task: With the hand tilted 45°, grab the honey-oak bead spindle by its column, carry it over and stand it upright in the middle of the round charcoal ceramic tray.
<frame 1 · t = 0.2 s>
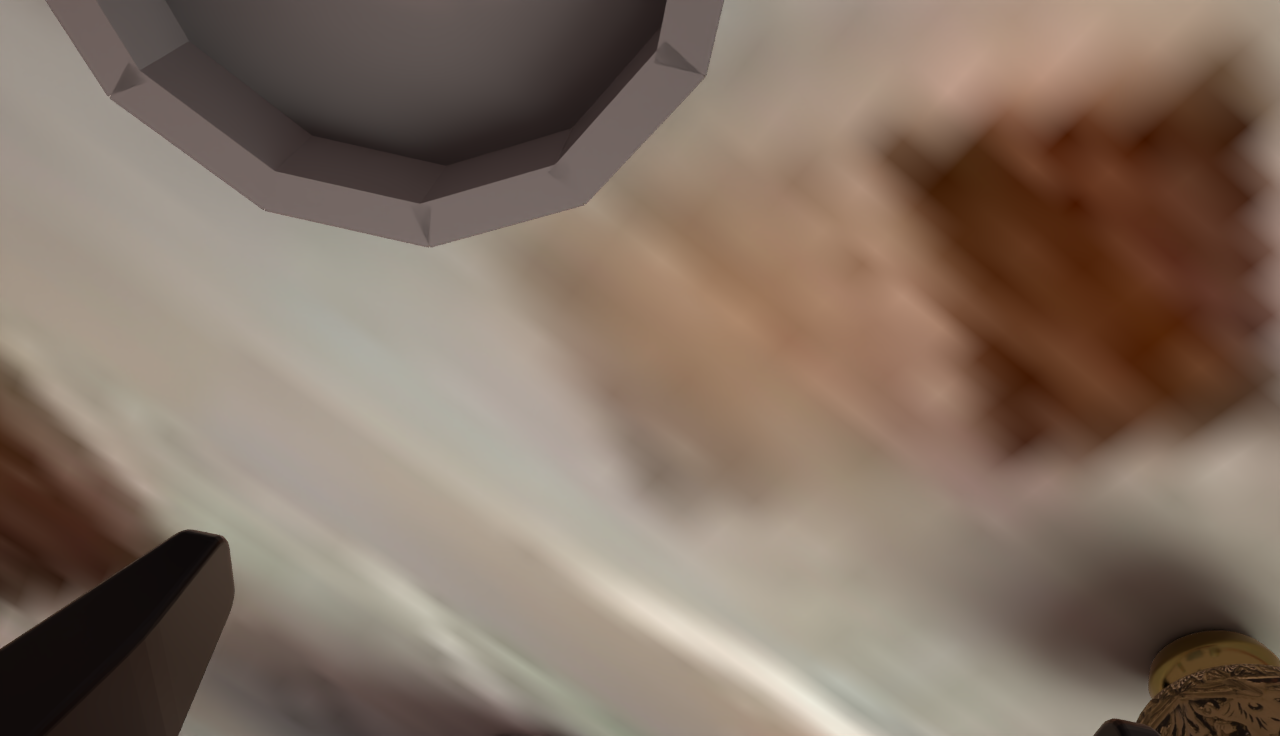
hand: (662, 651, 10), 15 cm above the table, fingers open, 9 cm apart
cup: (1202, 653, 30), on the table
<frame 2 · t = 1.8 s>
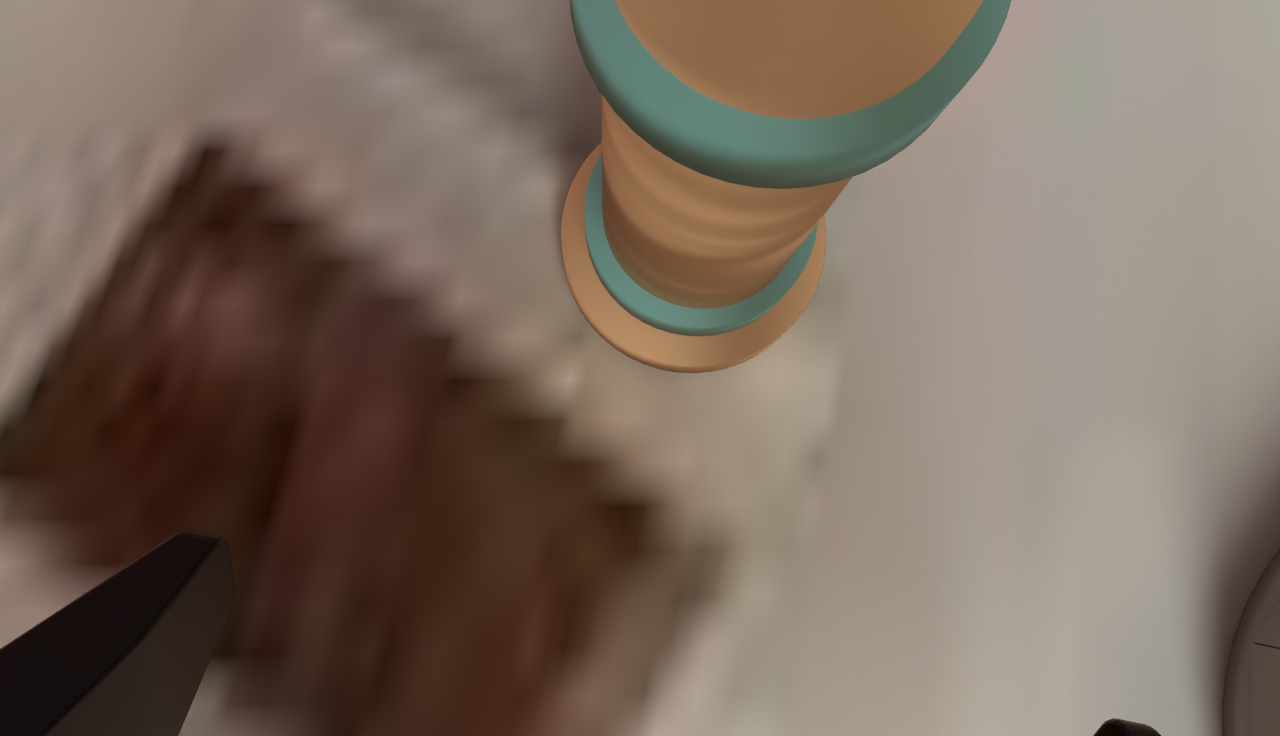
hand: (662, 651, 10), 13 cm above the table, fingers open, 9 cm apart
bead spindle: (689, 247, 24), on the table
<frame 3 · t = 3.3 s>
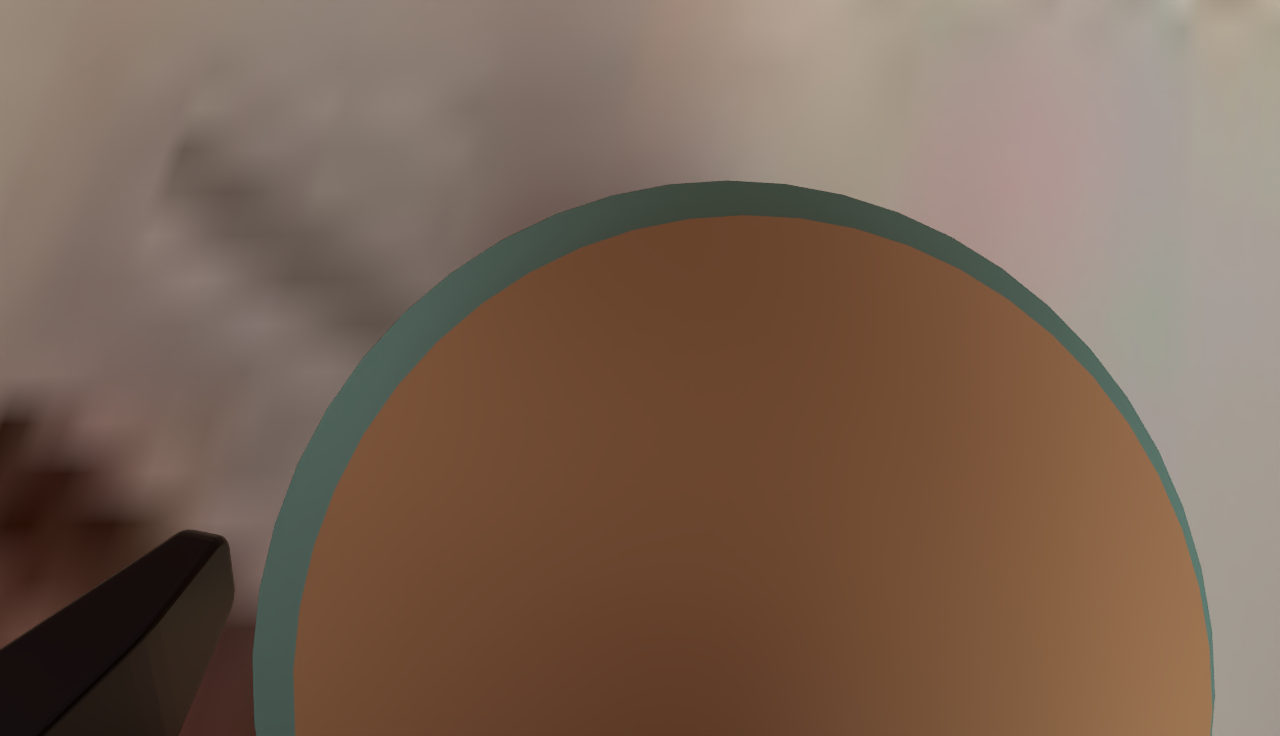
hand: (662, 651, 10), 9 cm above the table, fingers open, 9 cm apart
bead spindle: (641, 551, 18), on the table
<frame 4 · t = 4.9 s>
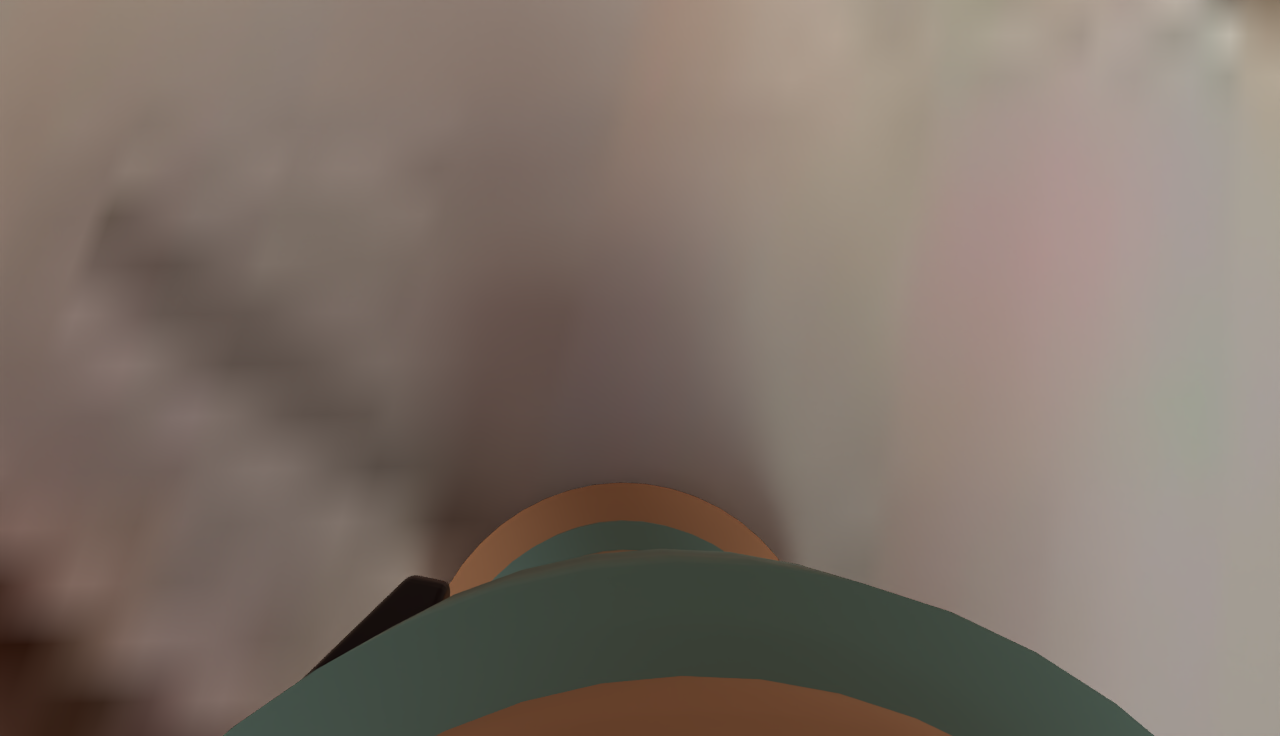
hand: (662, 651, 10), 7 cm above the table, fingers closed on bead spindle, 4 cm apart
bead spindle: (621, 672, 16), on the table, touching gripper
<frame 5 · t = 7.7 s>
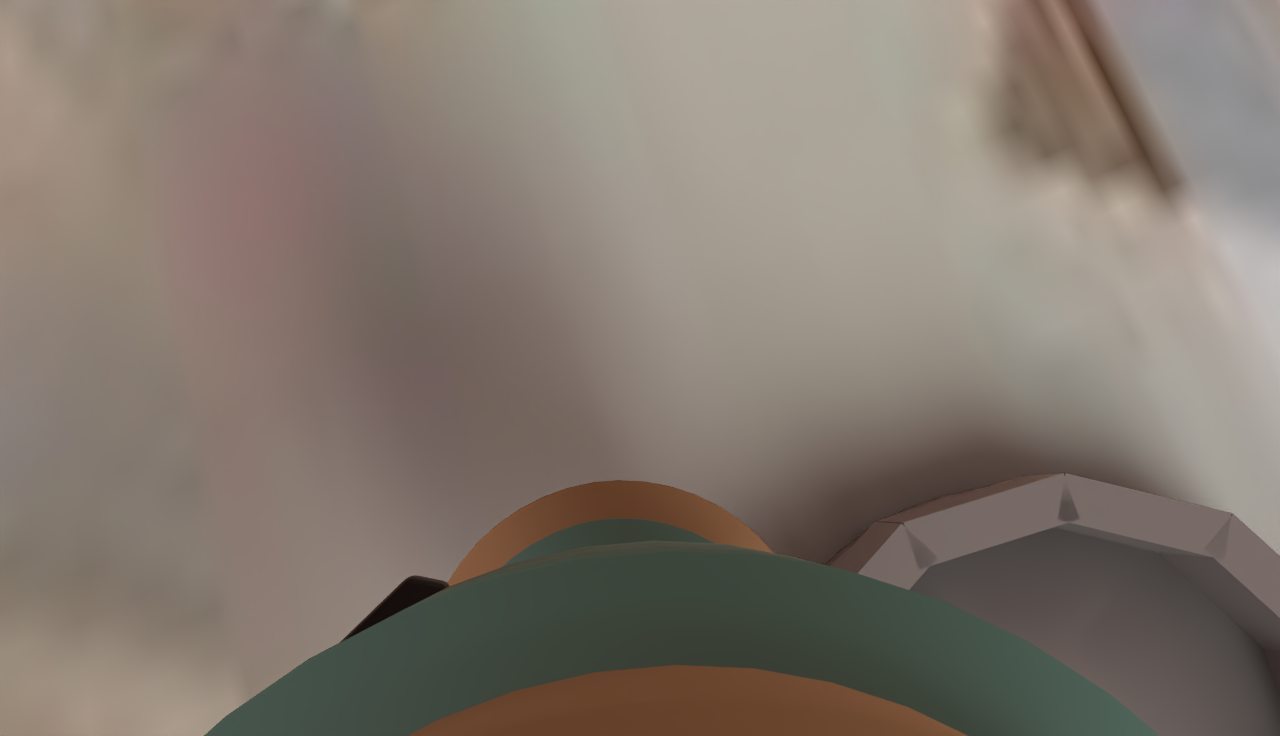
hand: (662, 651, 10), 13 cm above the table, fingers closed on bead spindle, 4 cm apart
bead spindle: (620, 670, 16), point 6 cm above the table, touching gripper
when the fingers open (9 cm above the table, at t = 10.3 s): bead spindle drops 1 cm, resting on round tray.
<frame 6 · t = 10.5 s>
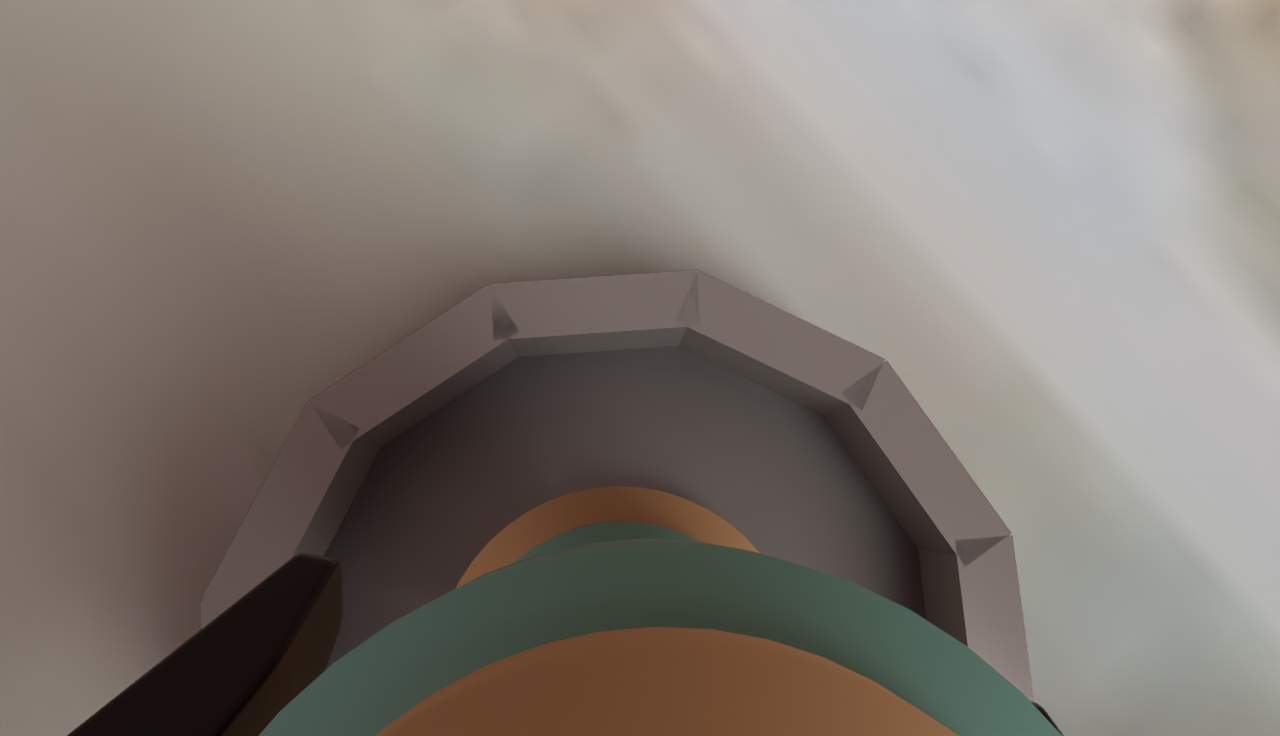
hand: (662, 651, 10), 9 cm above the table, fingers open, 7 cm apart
round tray: (619, 651, 19), on the table
bead spindle: (618, 662, 18), point 1 cm above the table, touching round tray
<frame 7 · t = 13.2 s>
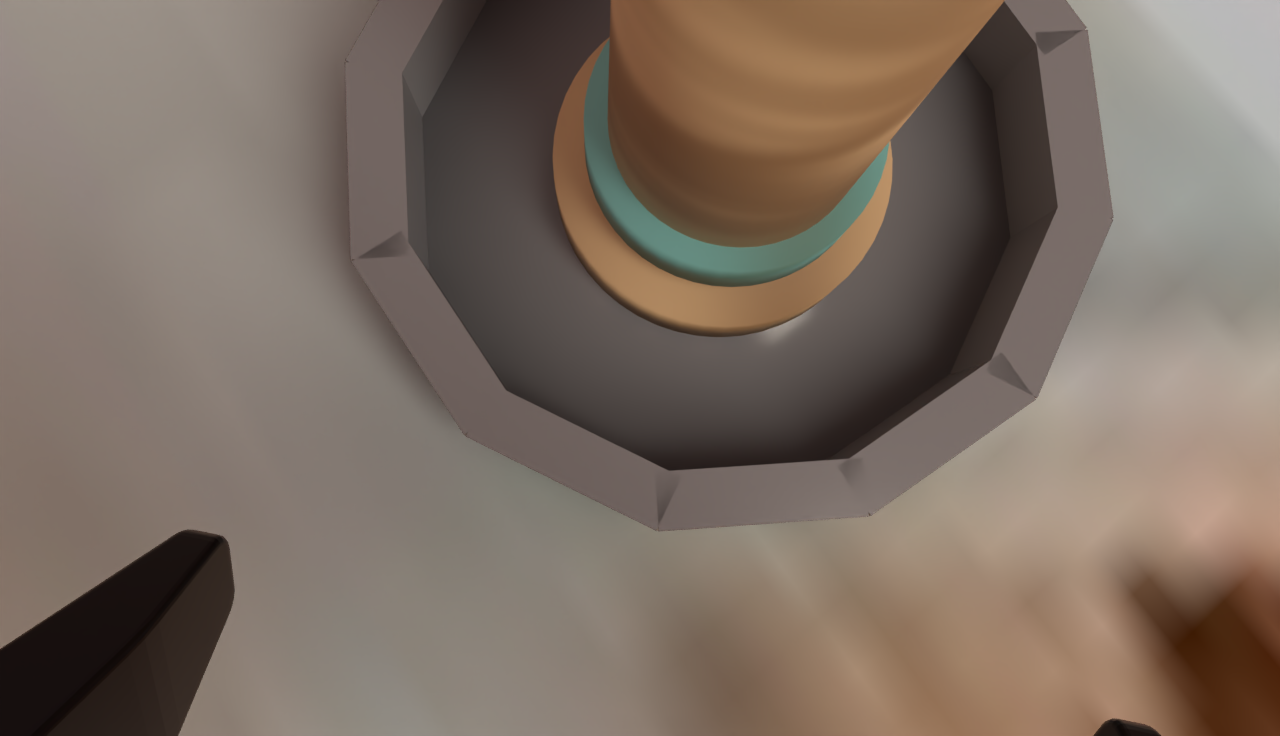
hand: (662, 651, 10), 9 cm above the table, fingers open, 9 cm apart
round tray: (711, 193, 20), on the table
bead spindle: (716, 179, 19), point 1 cm above the table, touching round tray
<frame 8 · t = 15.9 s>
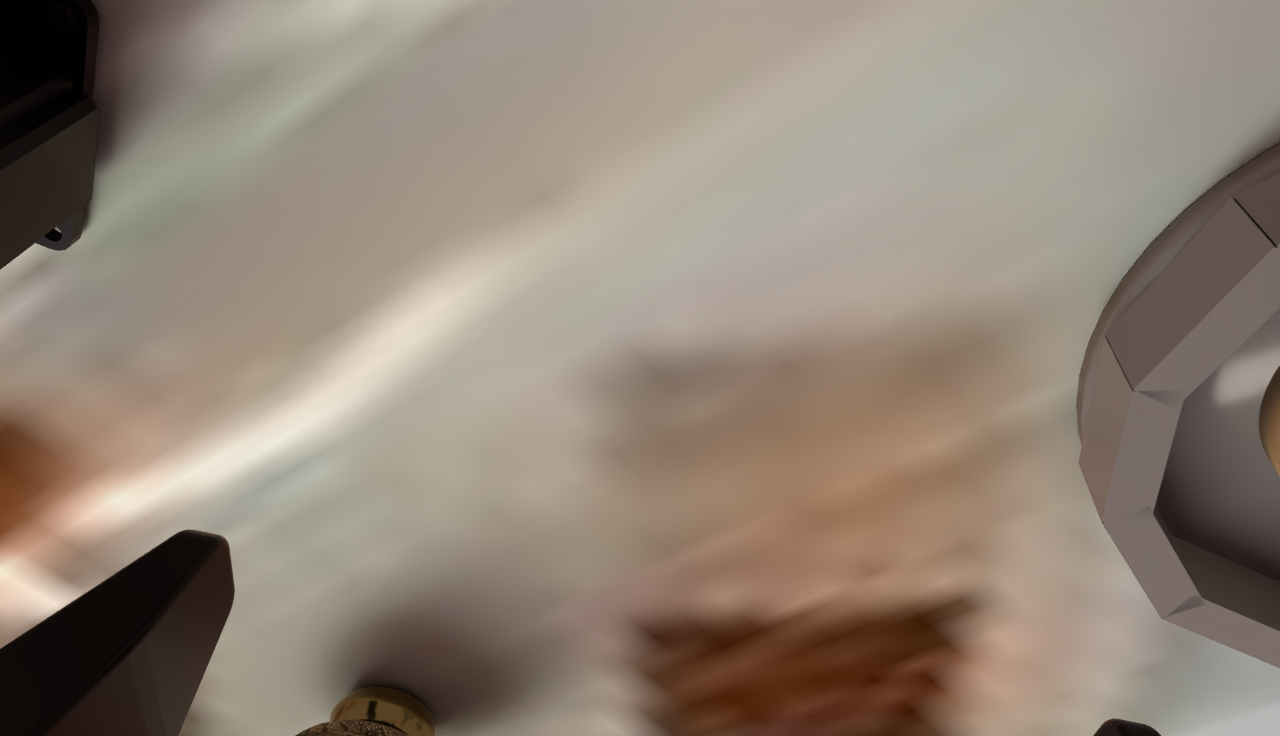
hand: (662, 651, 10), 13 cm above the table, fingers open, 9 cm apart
cup: (392, 704, 34), on the table
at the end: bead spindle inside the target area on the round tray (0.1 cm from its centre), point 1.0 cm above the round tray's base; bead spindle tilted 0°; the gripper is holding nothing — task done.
